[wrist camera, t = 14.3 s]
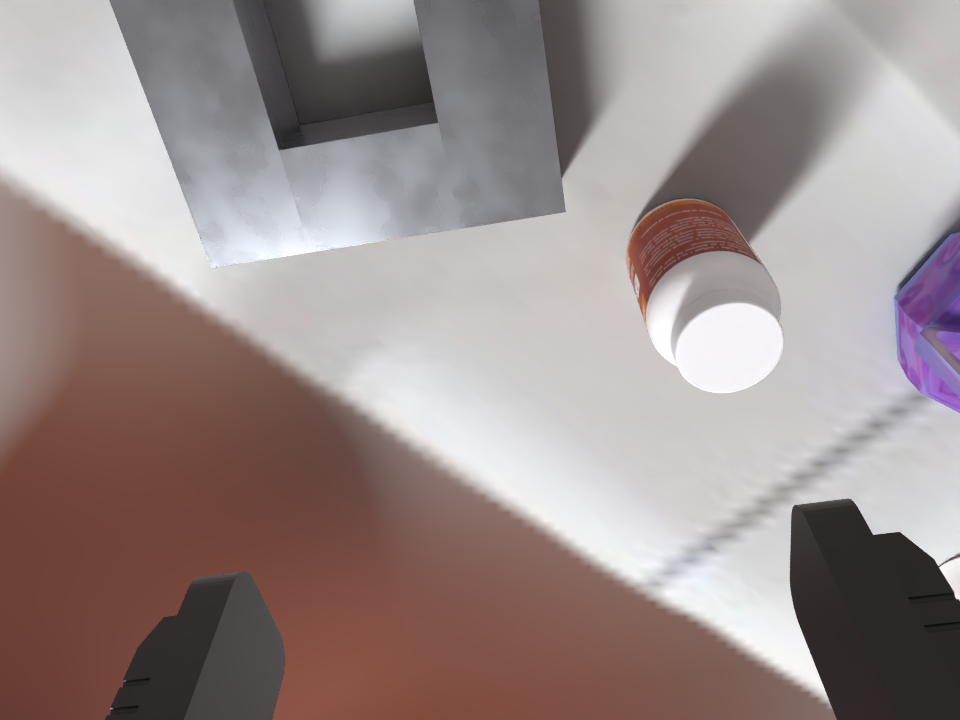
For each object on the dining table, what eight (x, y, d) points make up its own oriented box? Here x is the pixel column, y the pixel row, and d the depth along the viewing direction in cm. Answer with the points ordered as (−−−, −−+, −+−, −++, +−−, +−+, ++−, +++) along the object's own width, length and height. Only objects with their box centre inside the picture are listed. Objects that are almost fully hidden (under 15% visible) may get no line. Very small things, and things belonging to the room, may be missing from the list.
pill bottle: (600, 248, 44) (627, 348, 34) (689, 171, 42) (744, 255, 32) (671, 318, 46) (715, 431, 37) (760, 248, 44) (831, 349, 34)
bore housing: (102, -144, 35) (53, -147, 31) (506, -234, 33) (506, -250, 29) (237, 234, 44) (211, 268, 40) (559, 181, 42) (565, 211, 38)
